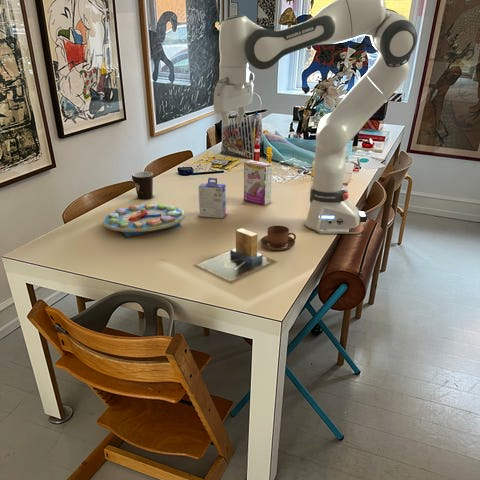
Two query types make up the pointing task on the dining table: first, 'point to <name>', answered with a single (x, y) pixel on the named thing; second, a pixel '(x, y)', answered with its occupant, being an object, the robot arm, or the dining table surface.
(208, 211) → the ink cartridge box
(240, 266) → the slate board
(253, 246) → the eraser
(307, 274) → the dining table surface
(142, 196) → the coffee mug
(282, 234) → the cup and saucer
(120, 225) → the shape sorting clock
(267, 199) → the candy bar box
